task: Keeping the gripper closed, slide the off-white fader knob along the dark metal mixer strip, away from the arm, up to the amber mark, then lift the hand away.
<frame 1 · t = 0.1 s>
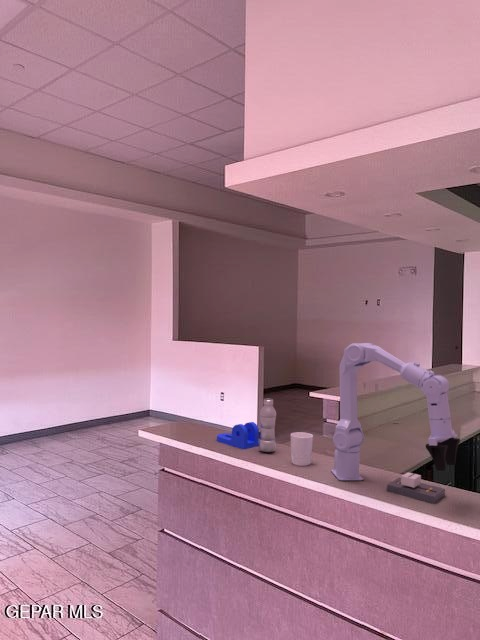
hand: (446, 467, 138), 11 cm above the table, tool pointing down, fingers open, 7 cm apart
white cup: (301, 463, 173), on the table
mixer strip: (415, 493, 146), on the table
bracket: (235, 443, 198), on the table
fader knob: (411, 479, 147), point 4 cm above the table, slide at -1.5 cm
plastic bottle: (266, 452, 186), on the table
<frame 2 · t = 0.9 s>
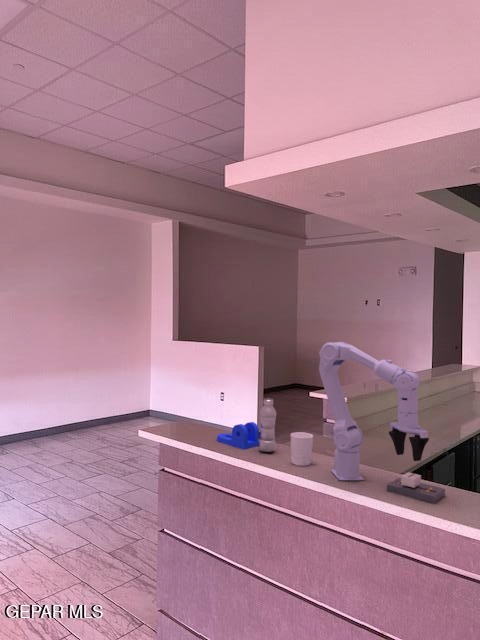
hand: (408, 457, 147), 10 cm above the table, tool pointing down, fingers open, 7 cm apart
nothing on the table moved.
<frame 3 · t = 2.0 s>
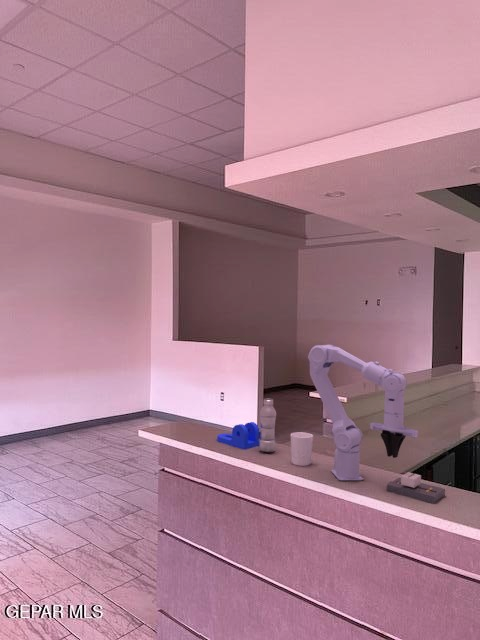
hand: (392, 456, 151), 9 cm above the table, tool pointing down, fingers closed
nothing on the table moved.
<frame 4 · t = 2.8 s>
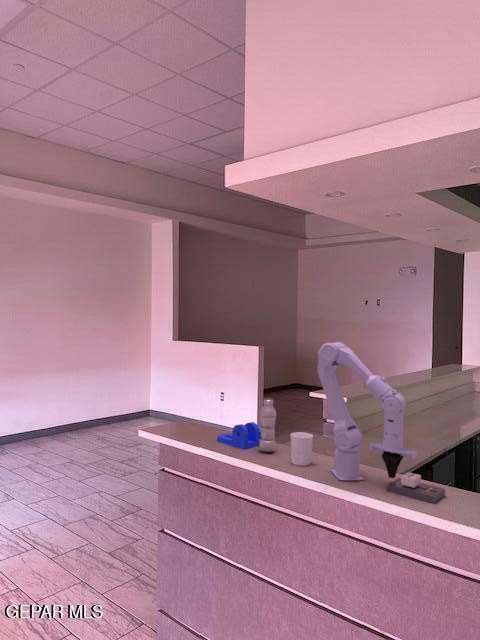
hand: (391, 477, 151), 3 cm above the table, tool pointing down, fingers closed
nothing on the table moved.
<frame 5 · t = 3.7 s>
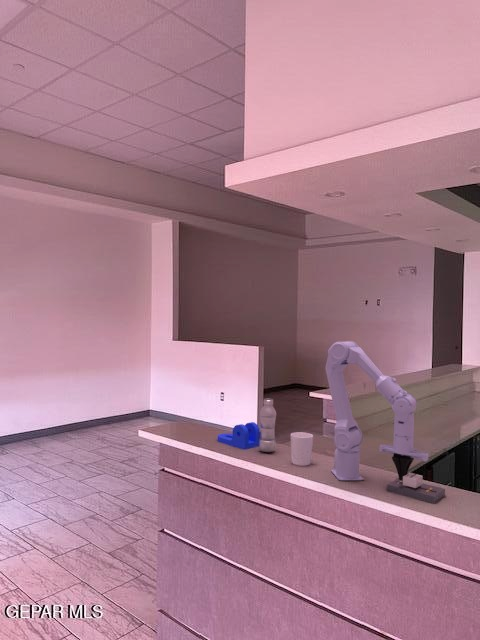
hand: (402, 479, 149), 3 cm above the table, tool pointing down, fingers closed
fader knob: (412, 480, 147), point 4 cm above the table, slide at -1.0 cm, touching gripper
everything else where it was.
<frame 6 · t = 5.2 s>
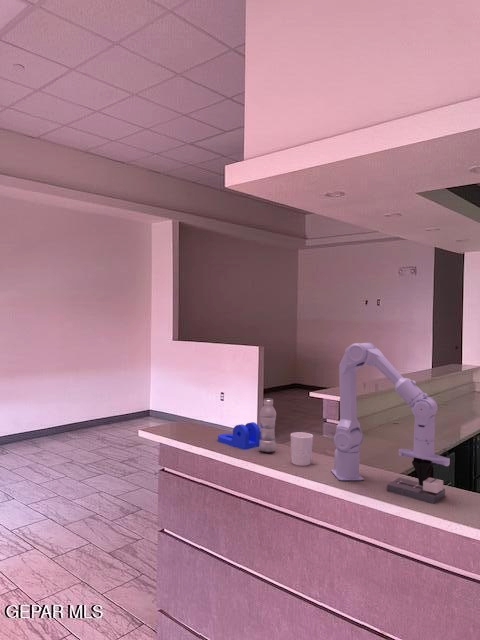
hand: (422, 484, 145), 3 cm above the table, tool pointing down, fingers closed
fader knob: (433, 485, 143), point 4 cm above the table, slide at 5.1 cm, touching gripper
everything else where it was.
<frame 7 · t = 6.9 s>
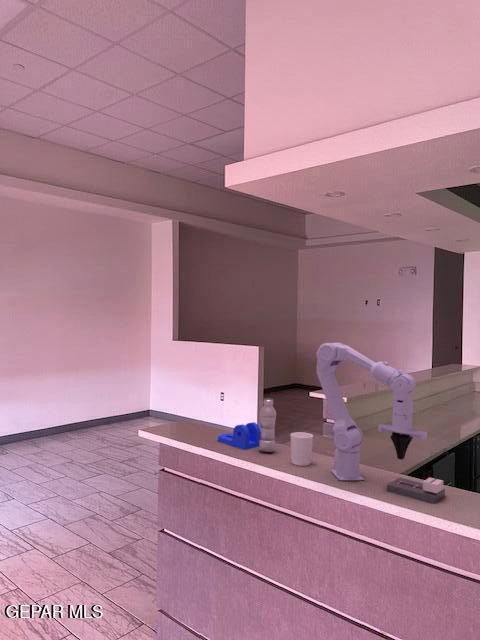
hand: (400, 458, 149), 9 cm above the table, tool pointing down, fingers closed
fader knob: (433, 485, 143), point 4 cm above the table, slide at 5.1 cm
everything else where it was.
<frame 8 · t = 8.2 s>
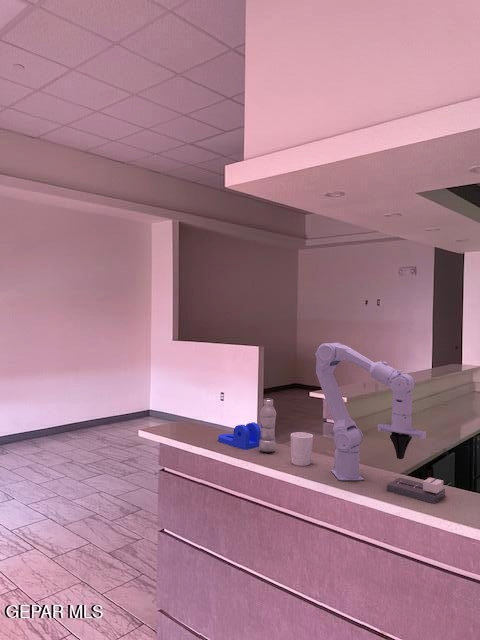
hand: (400, 458, 150), 9 cm above the table, tool pointing down, fingers closed
nothing on the table moved.
at the end: fader knob slide at 5.1 cm; the gripper is holding nothing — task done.
